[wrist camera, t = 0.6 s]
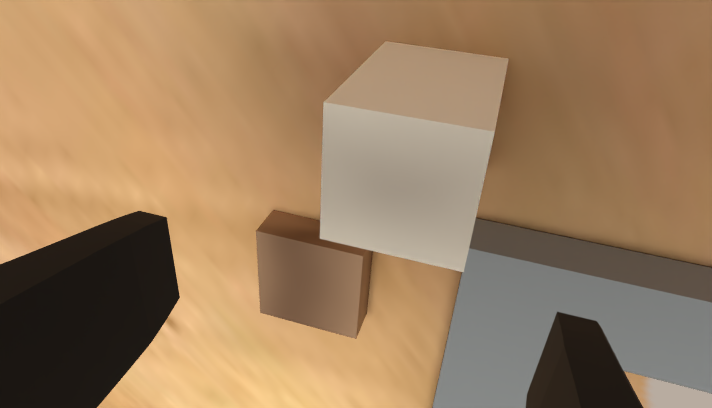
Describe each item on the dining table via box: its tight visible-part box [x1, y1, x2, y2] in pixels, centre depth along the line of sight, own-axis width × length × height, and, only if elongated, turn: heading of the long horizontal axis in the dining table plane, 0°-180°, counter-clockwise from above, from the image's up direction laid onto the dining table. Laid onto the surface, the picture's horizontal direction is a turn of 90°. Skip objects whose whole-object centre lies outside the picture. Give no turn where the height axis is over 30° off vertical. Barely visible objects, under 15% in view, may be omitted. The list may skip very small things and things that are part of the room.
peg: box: [320, 41, 509, 272], centre depth 15 cm, size 4×4×6 cm
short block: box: [256, 210, 373, 339], centre depth 22 cm, size 4×4×2 cm
